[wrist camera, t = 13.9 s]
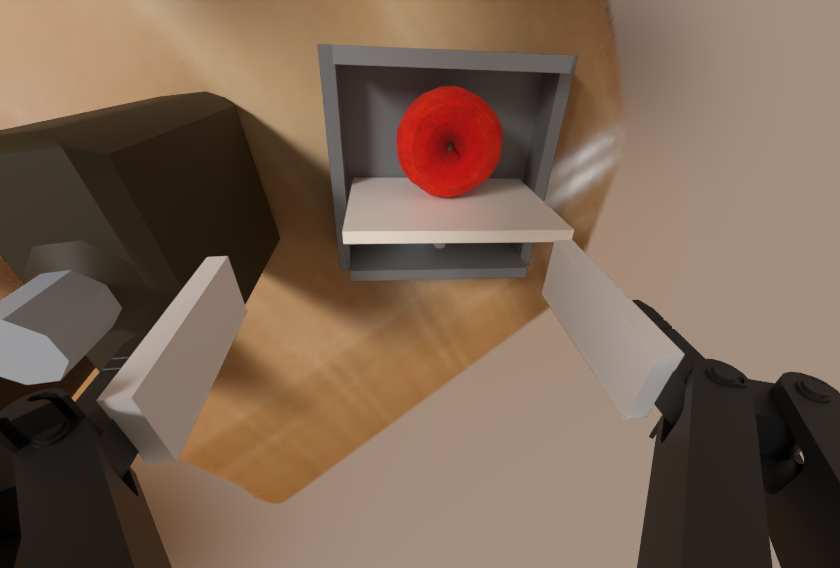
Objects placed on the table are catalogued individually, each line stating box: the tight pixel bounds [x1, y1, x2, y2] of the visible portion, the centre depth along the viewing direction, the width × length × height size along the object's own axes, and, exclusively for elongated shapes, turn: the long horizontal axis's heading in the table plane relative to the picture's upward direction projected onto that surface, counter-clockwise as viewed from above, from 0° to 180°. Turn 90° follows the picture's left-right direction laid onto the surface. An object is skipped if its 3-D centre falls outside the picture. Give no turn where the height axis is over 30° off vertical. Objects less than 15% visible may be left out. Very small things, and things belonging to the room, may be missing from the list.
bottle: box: [0, 92, 280, 385], centre depth 26 cm, size 8×16×25 cm, turn 5°
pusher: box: [342, 177, 574, 249], centre depth 33 cm, size 6×17×13 cm, turn 88°
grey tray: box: [317, 44, 578, 281], centre depth 35 cm, size 20×21×7 cm
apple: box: [396, 86, 502, 198], centre depth 32 cm, size 9×9×8 cm
